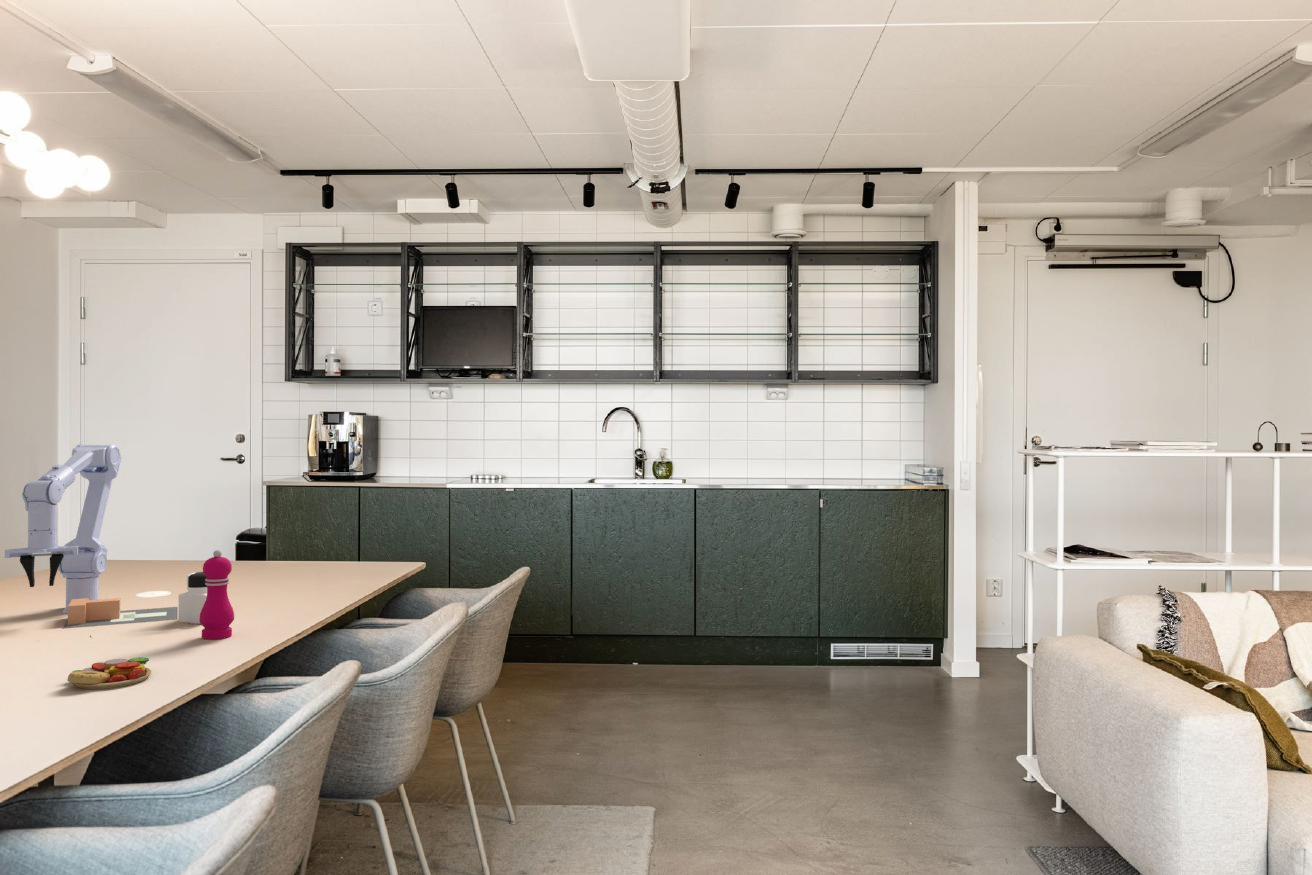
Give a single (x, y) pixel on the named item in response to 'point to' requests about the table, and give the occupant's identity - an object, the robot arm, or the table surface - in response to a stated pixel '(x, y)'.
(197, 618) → the medicine bottle
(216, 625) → the pepper mill
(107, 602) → the t block
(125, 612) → the mat
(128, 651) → the table surface
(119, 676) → the toy food set
